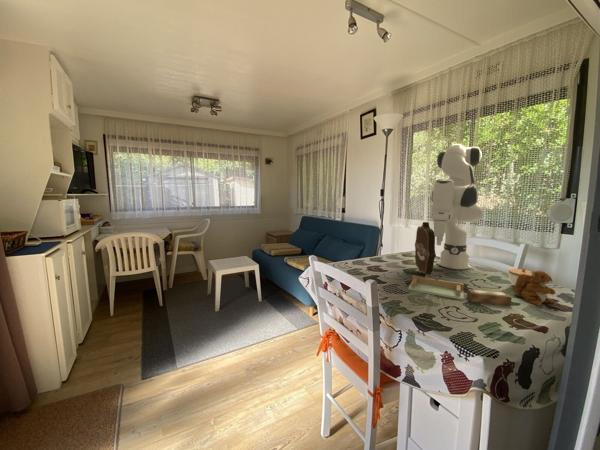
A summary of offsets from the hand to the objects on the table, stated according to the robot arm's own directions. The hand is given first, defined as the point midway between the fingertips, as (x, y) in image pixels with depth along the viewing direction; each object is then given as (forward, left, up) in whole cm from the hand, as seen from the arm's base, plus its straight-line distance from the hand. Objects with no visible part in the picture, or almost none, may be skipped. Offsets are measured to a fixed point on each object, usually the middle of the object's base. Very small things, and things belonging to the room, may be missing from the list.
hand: (439, 242), depth 119 cm
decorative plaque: (-15, -8, -22) cm, 28 cm away
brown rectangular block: (+7, +20, -22) cm, 30 cm away
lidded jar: (-22, +35, -22) cm, 47 cm away
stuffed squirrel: (-6, +35, -22) cm, 42 cm away
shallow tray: (+6, 0, -22) cm, 23 cm away
